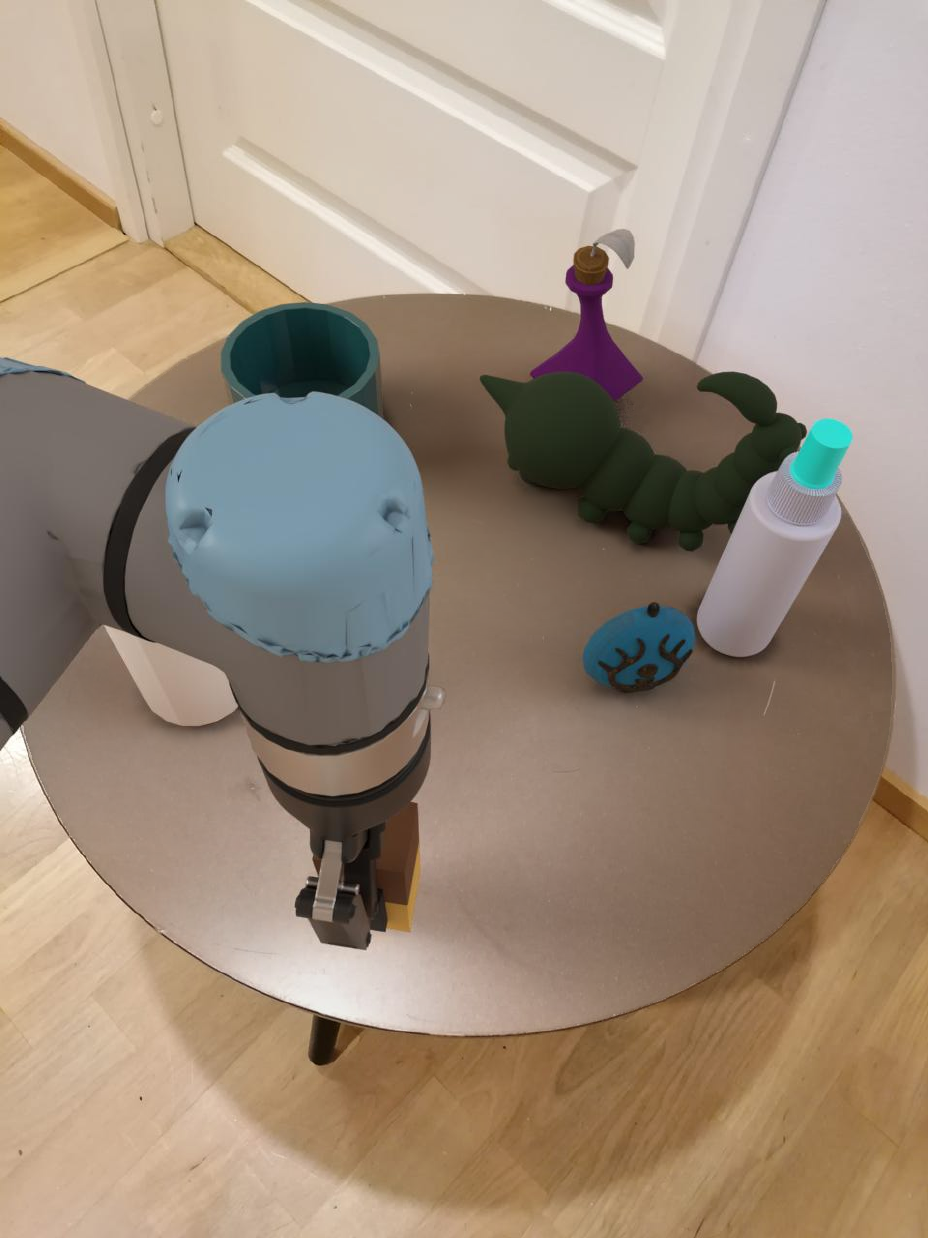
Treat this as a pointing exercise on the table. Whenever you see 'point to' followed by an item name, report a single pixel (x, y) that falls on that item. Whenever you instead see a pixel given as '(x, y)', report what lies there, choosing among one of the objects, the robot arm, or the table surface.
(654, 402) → the table surface
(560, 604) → the table surface
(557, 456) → the toy figurine
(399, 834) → the sponge
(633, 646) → the ornament
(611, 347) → the perfume bottle
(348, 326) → the teal hollow cylinder
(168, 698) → the white plastic cylinder
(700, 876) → the table surface
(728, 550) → the spray bottle
